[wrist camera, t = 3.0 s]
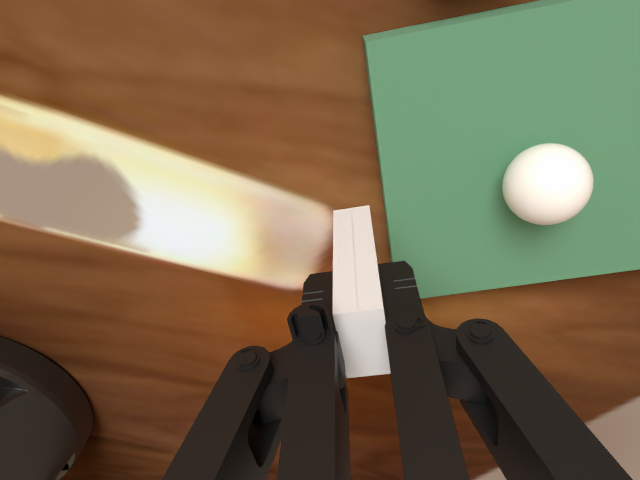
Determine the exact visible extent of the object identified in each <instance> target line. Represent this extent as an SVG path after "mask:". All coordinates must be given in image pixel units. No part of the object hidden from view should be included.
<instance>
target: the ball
mask: <svg viewBox="0 0 640 480" xmlns="http://www.w3.org/2000/svg"><path fill="white" fill-rule="evenodd" d="M593 181H594V180H593V174H592V170H591V167H590V165H589V163H588V162H587V160H586V159H585V158H584V157H583V156H582V155H581V154H580V153H579V152H577V151H576V150H574V149H573V148H570V147H568V146H565V145H562V144H556V143H545V144H539V145H535V146H533V147H530V148H528V149H526V150H524V151H522V152H521V153H520V154H518V155H517V156H516V157H515V158H514V159H513V160H512V161H511V163H510V164H509V165H508V167H507V169H506V171H505V174H504V177H503V183H502V191H503V196H504V199H505V201H506V203H507V205H508V207H509V208H510V209H511V211H512V212H513V213H514V214H515V215H517V216H518V217H520V218H521V219H523V220H525V221H527V222H530V223H533V224H538V225H553V224H558V223H561V222H564V221H567V220H569V219H571V218H572V217H574V216H575V215H577V214H578V213H579V212H580V211H581V210H582V209H583V208H584V207H585V205H586V204H587V202H588V201H589V199H590V196H591V194H592V190H593Z"/></svg>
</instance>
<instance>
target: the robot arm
mask: <svg viewBox="0 0 640 480" xmlns="http://www.w3.org/2000/svg"><path fill="white" fill-rule="evenodd" d="M287 321H288V325H289V328H290V331H291V335H292V338H293V341H292V342H291V343H289V344H288V345H286V346H284V347H282V348H280V349H278V350H275V351H272V352H270V353H269V352H268V351H267V350H266V349H265V348H264V347H260V346H249V347H246V348H243V349H241V350H239V351H238V352H236V353H235V354H234V355H233V356H232V357H231V359H230V360H229V361H228V363H227V365H226V367H225V368H224V370H223V372H222V374H221V376H220V377H219V379H218V381H217V383H216V384H215V386H214V388H213V390H212V392H211V393H210V395H209V397H208V399H207V400H206V402H205V404H204V406H203V408H202V409H201V411H200V413H199V415H198V416H197V418H196V420H195V422H194V424H193V425H192V427H191V429H190V431H189V432H188V434H187V436H186V438H185V440H184V441H183V443H182V445H181V447H180V448H179V450H178V452H177V454H176V456H175V457H174V459H173V461H172V463H171V464H170V466H169V468H168V470H167V472H166V473H165V475H164V477H163V479H162V480H266V479H267V476H268V473H269V471H270V468H271V465H272V463H273V460H274V457H275V455H276V452H277V449H278V446H279V444H280V441H281V449H280V458H279V466H278V475H277V480H351V477H350V445H349V413H348V390H347V386H346V382H345V373H346V377H347V378H353V377H363V376H372V375H382V374H391V380H392V387H393V395H394V403H395V410H396V418H397V425H398V433H399V441H400V448H401V456H402V464H403V471H404V479H405V480H469V477H468V473H467V469H466V465H465V461H464V458H463V454H462V450H461V446H460V442H459V438H458V434H457V430H456V426H455V423H454V419H453V415H452V411H451V407H450V403H449V399H448V397H452V398H457V399H460V402H461V404H462V406H463V408H464V409H465V411H466V413H467V414H468V416H469V418H470V419H471V421H472V423H473V424H474V426H475V428H476V429H477V431H478V433H479V434H480V436H481V438H482V439H483V441H484V443H485V444H486V446H487V448H488V449H489V451H490V453H491V454H492V456H493V458H494V459H495V461H496V463H497V464H498V466H499V468H500V469H501V471H502V473H503V474H504V476H505V478H506V479H507V480H632V478H631V477H630V476H629V475H628V474H627V473H626V471H625V470H624V469H623V468H622V467H621V466H620V465H619V463H618V462H617V461H616V460H615V459H614V458H613V456H612V455H611V454H610V453H609V452H608V451H607V449H605V447H604V446H603V445H602V444H601V443H600V441H599V440H598V439H597V438H596V437H595V435H594V434H593V433H592V432H591V431H590V430H589V429H588V427H587V426H586V425H585V424H584V423H583V421H582V420H581V419H580V418H579V417H578V416H577V414H576V413H575V412H574V411H573V410H572V409H571V407H570V406H569V405H568V404H567V403H566V402H565V401H564V399H563V398H562V397H561V396H560V395H559V394H558V392H557V391H556V390H555V389H554V388H553V387H552V385H551V384H550V383H549V382H548V381H547V380H546V378H545V377H544V376H543V375H542V374H541V373H540V371H539V370H538V369H537V368H536V367H535V366H534V364H533V363H532V362H531V361H530V360H529V359H528V357H527V356H526V355H525V354H524V353H523V352H522V351H521V349H520V348H519V347H518V346H517V345H516V344H515V342H514V341H513V340H512V339H511V338H510V337H509V335H508V334H507V333H506V332H505V331H504V330H503V328H501V327H500V326H499V325H498V324H496V323H495V322H492V321H489V320H486V319H471V320H468V321H466V322H463V323H462V324H461V325H460V326H459V327H458V328H457V329H449V328H443V327H440V326H437V325H435V324H433V323H431V322H430V321H429V320H428V319H427V318H426V316H425V314H424V311H423V307H422V303H421V299H420V295H419V292H418V288H417V284H416V280H415V276H414V272H413V268H412V267H411V266H410V265H409V264H408V263H407V262H406V261H398V262H391V263H383V264H378V263H377V256H376V249H375V242H374V235H373V229H372V222H371V215H370V208H369V205H368V206H361V207H355V208H348V209H342V210H335V211H334V218H333V271H331V272H324V273H316V274H310V275H309V277H308V278H307V279H306V281H305V282H304V286H303V296H302V305H300V306H298V307H296V308H295V309H294V310H293V311H292V312H291V313H290V314H289V316H288V318H287ZM92 428H93V414H92V410H91V407H90V404H89V402H88V400H87V398H86V396H85V394H84V393H83V391H82V390H81V389H80V387H79V386H78V385H77V384H76V382H75V381H74V380H73V379H72V378H71V377H70V376H69V375H68V374H67V373H66V372H64V371H63V370H62V369H61V368H60V367H58V366H57V365H56V364H54V363H53V362H51V361H50V360H48V359H47V358H45V357H44V356H42V355H40V354H39V353H37V352H35V351H33V350H31V349H29V348H27V347H25V346H23V345H21V344H18V343H16V342H14V341H11V340H8V339H5V338H3V337H0V480H59V479H60V478H62V477H63V476H64V475H65V474H66V473H67V472H68V471H69V470H70V469H71V468H72V467H73V465H74V464H75V462H76V461H77V459H78V458H79V456H80V454H81V452H82V450H83V448H84V446H85V444H86V442H87V440H88V438H89V436H90V434H91V431H92ZM281 438H282V440H281Z"/></svg>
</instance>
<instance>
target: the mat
mask: <svg viewBox="0 0 640 480" xmlns="http://www.w3.org/2000/svg"><path fill="white" fill-rule="evenodd" d="M363 44H364V52H365V60H366V68H367V75H368V83H369V91H370V99H371V107H372V115H373V123H374V131H375V139H376V147H377V155H378V163H379V171H380V179H381V187H382V195H383V202H384V210H385V218H386V226H387V234H388V242H389V250H390V258H391V262H398V261H406V262H407V263H408V264H409V265H410V266H411V267H412V268H413V272H414V276H415V280H416V284H417V288H418V292H419V295H420V299H421V298H429V297H436V296H444V295H451V294H459V293H466V292H474V291H481V290H489V289H496V288H503V287H511V286H518V285H526V284H533V283H541V282H548V281H556V280H563V279H571V278H578V277H586V276H593V275H601V274H608V273H615V272H623V271H630V270H638V269H640V0H539V1H534V2H529V3H524V4H519V5H514V6H509V7H504V8H499V9H494V10H489V11H484V12H479V13H474V14H469V15H464V16H459V17H454V18H449V19H444V20H439V21H434V22H429V23H424V24H419V25H414V26H409V27H404V28H399V29H394V30H389V31H384V32H379V33H374V34H369V35H364V36H363ZM545 143H556V144H562V145H565V146H568V147H570V148H573V149H574V150H576V151H577V152H579V153H580V154H581V155H582V156H583V157H584V158H585V159H586V160H587V162H588V163H589V165H590V167H591V170H592V174H593V180H594V181H593V190H592V194H591V196H590V199H589V201H588V202H587V204H586V205H585V207H584V208H583V209H582V210H581V211H580V212H579V213H578V214H577V215H575V216H574V217H572V218H571V219H569V220H567V221H564V222H561V223H558V224H553V225H538V224H533V223H530V222H527V221H525V220H523V219H521V218H520V217H518V216H517V215H515V214H514V213H513V212H512V211H511V209H510V208H509V207H508V205H507V203H506V201H505V199H504V196H503V191H502V183H503V177H504V174H505V171H506V169H507V167H508V165H509V164H510V163H511V161H512V160H513V159H514V158H515V157H516V156H517V155H518V154H520V153H521V152H522V151H524V150H526V149H528V148H530V147H533V146H535V145H539V144H545Z"/></svg>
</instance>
